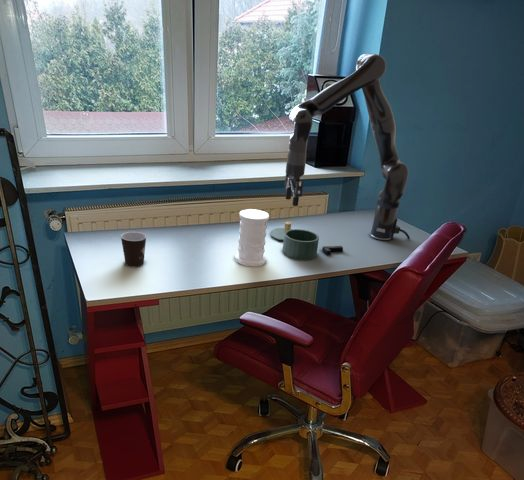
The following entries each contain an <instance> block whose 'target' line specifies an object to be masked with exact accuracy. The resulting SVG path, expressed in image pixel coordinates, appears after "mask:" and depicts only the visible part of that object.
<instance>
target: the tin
mask: <svg viewBox="0 0 524 480" xmlns="http://www.w3.org/2000/svg"><path fill="white" fill-rule="evenodd" d="M291 229H292V230H288V231H286V232H285V233H284V241H282V254H283V255H284V256H286V257H287V258H290V259H292V260H298V261H309V260H313V259H315V258H316V256H317V254H318V253H317V252H318V248H319V241H320V236H319V234H317V233H315V232H314V231H311V230H308V229H307V230H306V229H301V228H291Z"/></svg>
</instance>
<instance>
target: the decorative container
mask: <svg viewBox="0 0 524 480" xmlns="http://www.w3.org/2000/svg"><path fill="white" fill-rule="evenodd" d="M238 217H239V219H240V221H239V231H238V235H239V237H238V246H237V253H236V254H235V256H234V257H235V258H234V259H235V262H236V263H238V264H240V265H242V266H247V267H259V266H263V265H264V264H265V263H266V260H267V258H266V256H265V254H264V253H265V246H266V238H267V237H266V236H267V229H268V223H267V222H269V219H270V214H269V213H268V212H266V211H264V210H261V209H253V208H246V209H242V210H240V211H239V216H238Z"/></svg>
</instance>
